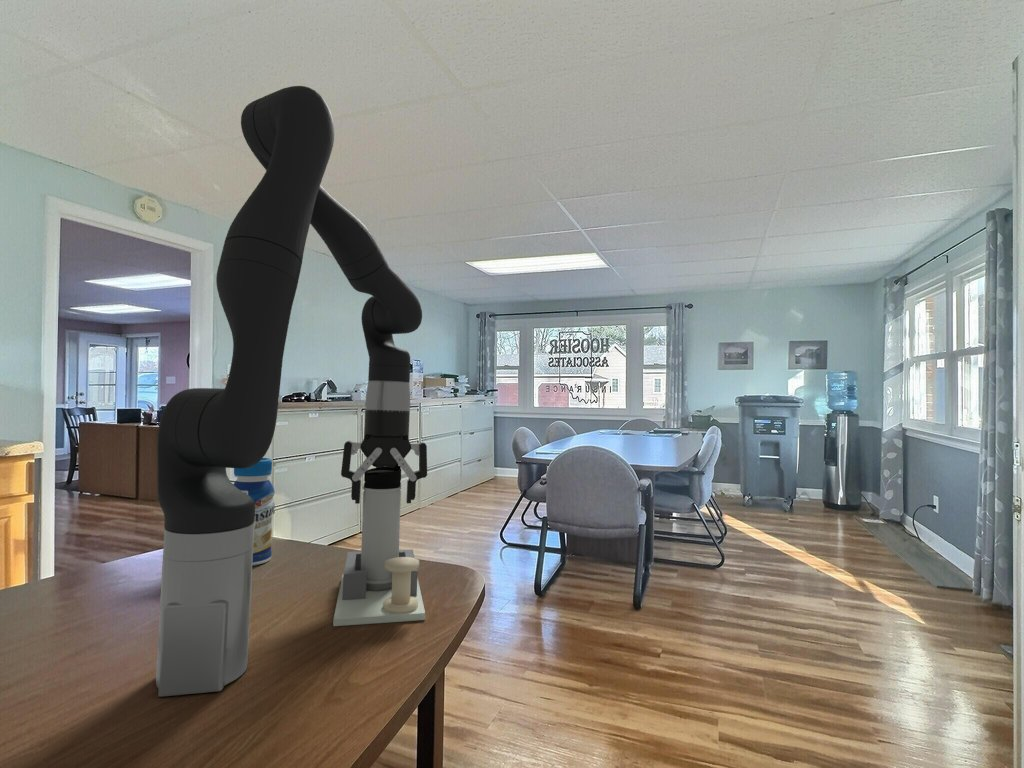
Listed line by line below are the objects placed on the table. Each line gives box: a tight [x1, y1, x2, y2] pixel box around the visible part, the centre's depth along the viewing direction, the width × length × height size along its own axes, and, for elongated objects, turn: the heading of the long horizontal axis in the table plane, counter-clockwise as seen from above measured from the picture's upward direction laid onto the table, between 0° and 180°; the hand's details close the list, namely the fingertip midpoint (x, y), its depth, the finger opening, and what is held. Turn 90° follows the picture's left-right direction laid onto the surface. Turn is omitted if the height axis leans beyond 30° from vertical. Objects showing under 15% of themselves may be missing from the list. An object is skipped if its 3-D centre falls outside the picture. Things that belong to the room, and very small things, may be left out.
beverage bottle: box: [232, 457, 276, 567], centre depth 104 cm, size 8×8×20 cm
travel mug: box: [360, 465, 402, 591], centre depth 90 cm, size 6×7×20 cm
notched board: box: [332, 549, 426, 627], centre depth 87 cm, size 20×13×8 cm, turn 14°
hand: (383, 502), depth 90 cm, fingers open, 8 cm apart
